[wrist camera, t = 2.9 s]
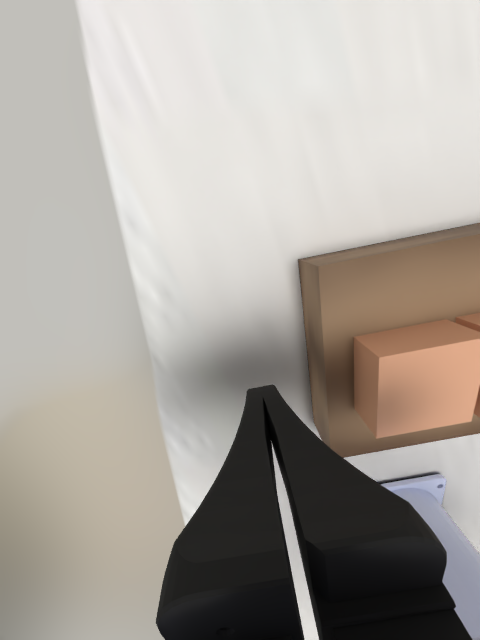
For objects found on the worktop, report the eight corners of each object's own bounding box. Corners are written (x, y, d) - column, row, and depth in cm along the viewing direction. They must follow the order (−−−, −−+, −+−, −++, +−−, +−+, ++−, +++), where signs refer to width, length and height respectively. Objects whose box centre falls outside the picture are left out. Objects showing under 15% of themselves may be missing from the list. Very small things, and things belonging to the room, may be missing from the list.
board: (468, 393, 16) (518, 426, 14) (313, 422, 17) (331, 459, 14) (506, 217, 12) (589, 212, 9) (298, 259, 12) (318, 266, 10)
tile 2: (434, 393, 12) (471, 421, 11) (354, 408, 13) (376, 438, 11) (445, 319, 11) (490, 336, 9) (353, 336, 11) (379, 357, 9)
